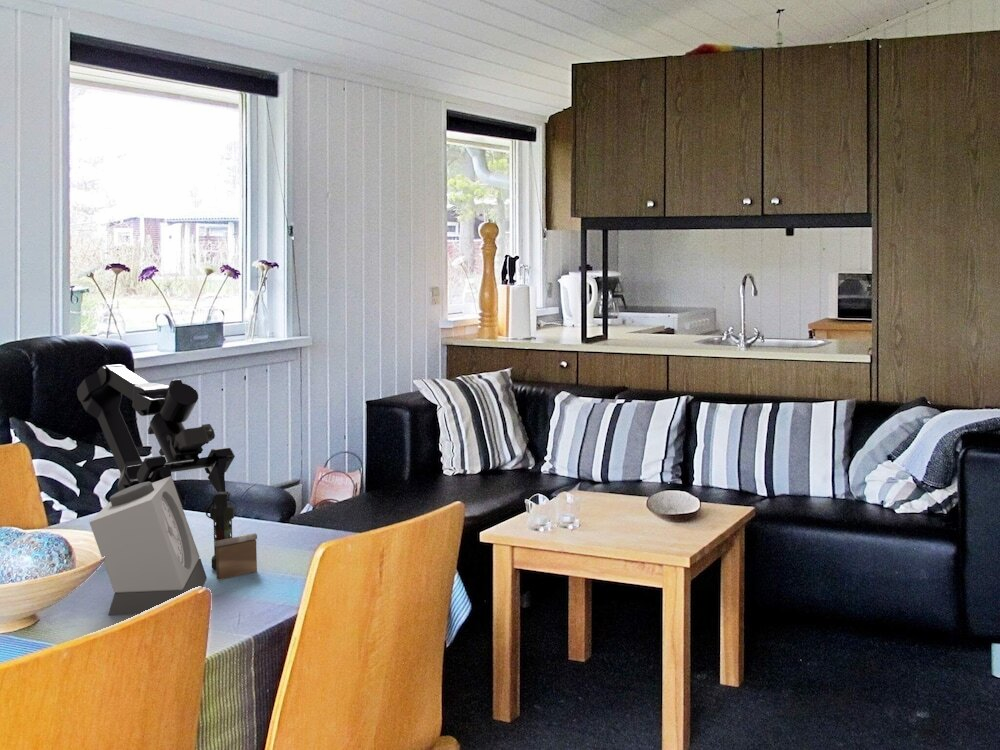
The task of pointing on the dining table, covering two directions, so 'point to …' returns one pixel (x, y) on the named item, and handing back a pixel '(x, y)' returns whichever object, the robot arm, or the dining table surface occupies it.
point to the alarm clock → (147, 547)
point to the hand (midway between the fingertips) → (203, 500)
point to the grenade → (220, 518)
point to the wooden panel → (236, 556)
